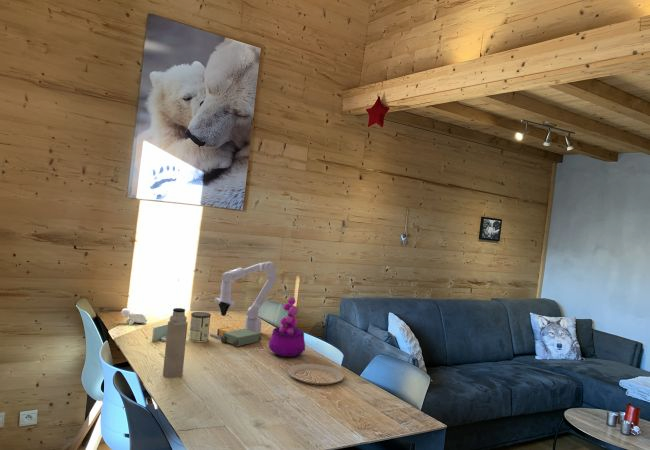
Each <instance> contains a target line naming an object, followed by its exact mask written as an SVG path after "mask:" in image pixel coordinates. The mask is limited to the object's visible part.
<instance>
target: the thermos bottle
mask: <svg viewBox="0 0 650 450" xmlns="http://www.w3.org/2000/svg"><path fill="white" fill-rule="evenodd" d="M172 311H173V312H172V315H171V316H170V317H169V321H167V324H168V328H167V338H166V342H165V351H164V359H163V360H164V361H163V368H162V370H163V371H162V376H163V377H165V378H171V379H174V378H175V379H176V378H180V377H182V376H183V373H184V362H185V353H186V342H187V333H188V324H189V323H188V321H187V316H186V309H185V308H181V307H176V308H173V309H172Z"/></svg>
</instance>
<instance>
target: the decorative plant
mask: <svg viewBox="0 0 650 450" xmlns="http://www.w3.org/2000/svg"><path fill="white" fill-rule="evenodd" d="M295 303H296V298H295V297H293V296H291V297H288V300H287V303H284V304H283V309H284V310H285V311H287V312H288V314H287V316H286V317H282V318H281V319H280V324H281V326H280V327H279V326H278V327H275V328H273V329H272V333H271V337H270V338H269V342H268V348H269V349H270V352H272V353H273V354H276V355H278V356H281V357H287V358H288V357H295V356H300V355H301V354H302V353H304V352H305V350H306V341H305V332H304V331H303V330H302V329H299V328H296V326H297V325H298V324H299V322H298V321H299V320H297V319H296V317H295V316H296V315H297V314H298V312H299V310H298V307H297V306H295V305H294V304H295Z"/></svg>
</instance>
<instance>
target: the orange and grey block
mask: <svg viewBox="0 0 650 450" xmlns="http://www.w3.org/2000/svg"><path fill="white" fill-rule="evenodd" d="M235 330H238V329H236V328H233V327H231V326H227V327H222V328H220V327H219V328H217V332H216V333H217V334H216V335H217V336H220V337H222V336H223V333H224V332H229V331H235Z"/></svg>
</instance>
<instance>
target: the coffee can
mask: <svg viewBox="0 0 650 450" xmlns="http://www.w3.org/2000/svg"><path fill="white" fill-rule="evenodd" d="M211 316H212V314H211V313H209V312H205V311H194V312H191V313H190V326H189V336H188V337H189V338H188V340H189V341H190V342H192V343H193V342H194V343H205V342H207V341H209V336H210V333H209V332H210V326H211V325H210V324H211Z"/></svg>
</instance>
